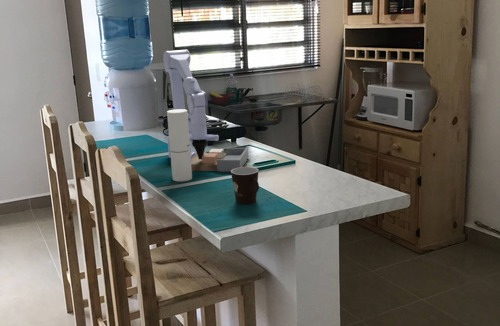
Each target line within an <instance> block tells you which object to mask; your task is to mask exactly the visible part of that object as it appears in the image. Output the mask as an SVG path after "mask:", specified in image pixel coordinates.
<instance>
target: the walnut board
mask: <svg viewBox="0 0 500 326" xmlns="http://www.w3.org/2000/svg"><path fill="white" fill-rule="evenodd" d="M205 153H206V152H204V154H205ZM226 155H227V152H224V156H223V157H222V158H218V159H221V160H223V158H224V157H225V156H226ZM191 168H192V172H193V171H198V172H199V171H201V172H203V171H205V172H210V171H211V172H218V171H217V161H216V162H215V163H202V159H199V158H198V155H197V152H195V153H194V154H193V155H192V156H191Z"/></svg>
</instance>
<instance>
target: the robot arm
mask: <svg viewBox="0 0 500 326" xmlns="http://www.w3.org/2000/svg"><path fill="white" fill-rule="evenodd" d="M162 57H163V58H162V59H163V68H164V71H165V72H166V73H168V75H169V82H170V88H171V95H172V98H171V99H172V106H173V110H175V109H185V110H186V104H185V95H184V93H185V94H186V102H187V107H188V112H187V113H188V127H189V140H190V154H191V157H192V156H193V155H194V154H195V153H197V155H198V158H199V159H202V156H203V155H204V153H205V150H206V146H207V144H208V141H212V142H213V141H215V142H218V141H219V140H220V139H219V137H220V136H219V134H208V132H207V131H208V130H207V119H206V118H207V117H206V108H207V106H208V97H207V93H206V92H205V91H204V90H203V89H201V87H200V85H199V82H198V80H197V79H196V78H195V77H193V74H192V70H191V69H190V64H191V54H190V51H189V50H188V49H186V48H185V49H179V50H178V49H176V50H165V51H164V52H163V56H162ZM192 146H193V148H194V150H195V151H193V150H192ZM167 149H168V150H167V151H168V157H167V158H170V159H171V154H170V142H169V136H168V137H167Z"/></svg>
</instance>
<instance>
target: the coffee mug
mask: <svg viewBox="0 0 500 326" xmlns="http://www.w3.org/2000/svg"><path fill="white" fill-rule="evenodd" d="M259 172H260V171H259V169H258V168H257V167H253V166H243V167H239V168H235V169H232V170H231V172H230V174H231V180H232V186H233V191H234V198H235V202H236V204H239V205H252V204H254V203H256V202H257V196H258V195H257V194H258V192H259V190H260V184H259Z"/></svg>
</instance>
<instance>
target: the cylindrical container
mask: <svg viewBox="0 0 500 326" xmlns="http://www.w3.org/2000/svg"><path fill="white" fill-rule="evenodd" d="M188 113H189V112H188V109H186V108H185V109H175V110H174V109H170V110H167V111H166V115H167V128H168V137H169V142H170V154H171V158H170V163H171V164H170V165H171V177H172V180H173V181H175V182H187V181H190V180H192V179H193V171H192V168H191V157H192V156H191V154H190V140H189V127H188Z"/></svg>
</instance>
